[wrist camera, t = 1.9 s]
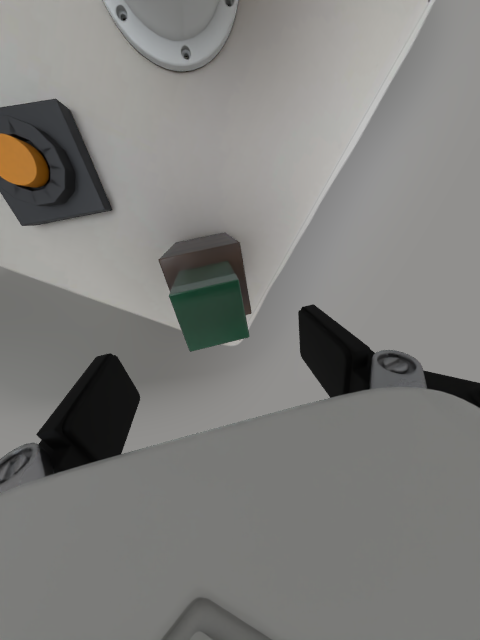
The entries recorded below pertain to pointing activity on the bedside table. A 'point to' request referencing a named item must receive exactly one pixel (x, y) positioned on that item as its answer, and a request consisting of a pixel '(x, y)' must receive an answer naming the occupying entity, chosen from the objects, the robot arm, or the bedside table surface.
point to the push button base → (52, 165)
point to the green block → (209, 306)
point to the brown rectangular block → (205, 259)
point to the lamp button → (22, 163)
